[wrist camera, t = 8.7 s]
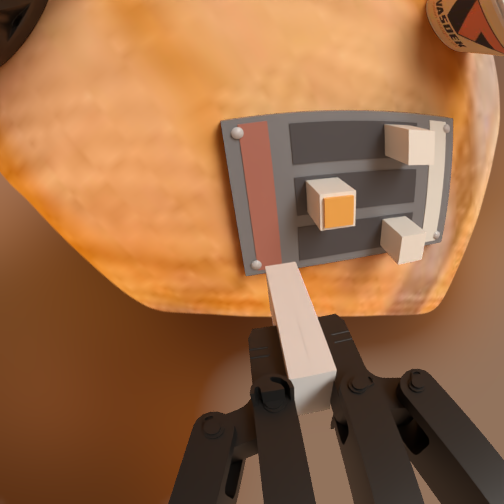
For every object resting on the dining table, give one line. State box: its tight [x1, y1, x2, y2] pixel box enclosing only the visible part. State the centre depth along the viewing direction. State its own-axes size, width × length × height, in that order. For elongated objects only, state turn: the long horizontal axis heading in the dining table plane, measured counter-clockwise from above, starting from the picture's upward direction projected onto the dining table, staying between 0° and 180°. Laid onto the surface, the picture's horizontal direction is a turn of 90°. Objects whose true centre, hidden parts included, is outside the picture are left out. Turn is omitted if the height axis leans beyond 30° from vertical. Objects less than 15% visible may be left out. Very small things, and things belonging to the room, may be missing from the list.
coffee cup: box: [426, 0, 504, 56], centre depth 11 cm, size 9×9×12 cm
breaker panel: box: [221, 110, 453, 276], centre depth 23 cm, size 24×15×6 cm, turn 97°
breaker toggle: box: [306, 177, 356, 231], centre depth 22 cm, size 3×3×4 cm
